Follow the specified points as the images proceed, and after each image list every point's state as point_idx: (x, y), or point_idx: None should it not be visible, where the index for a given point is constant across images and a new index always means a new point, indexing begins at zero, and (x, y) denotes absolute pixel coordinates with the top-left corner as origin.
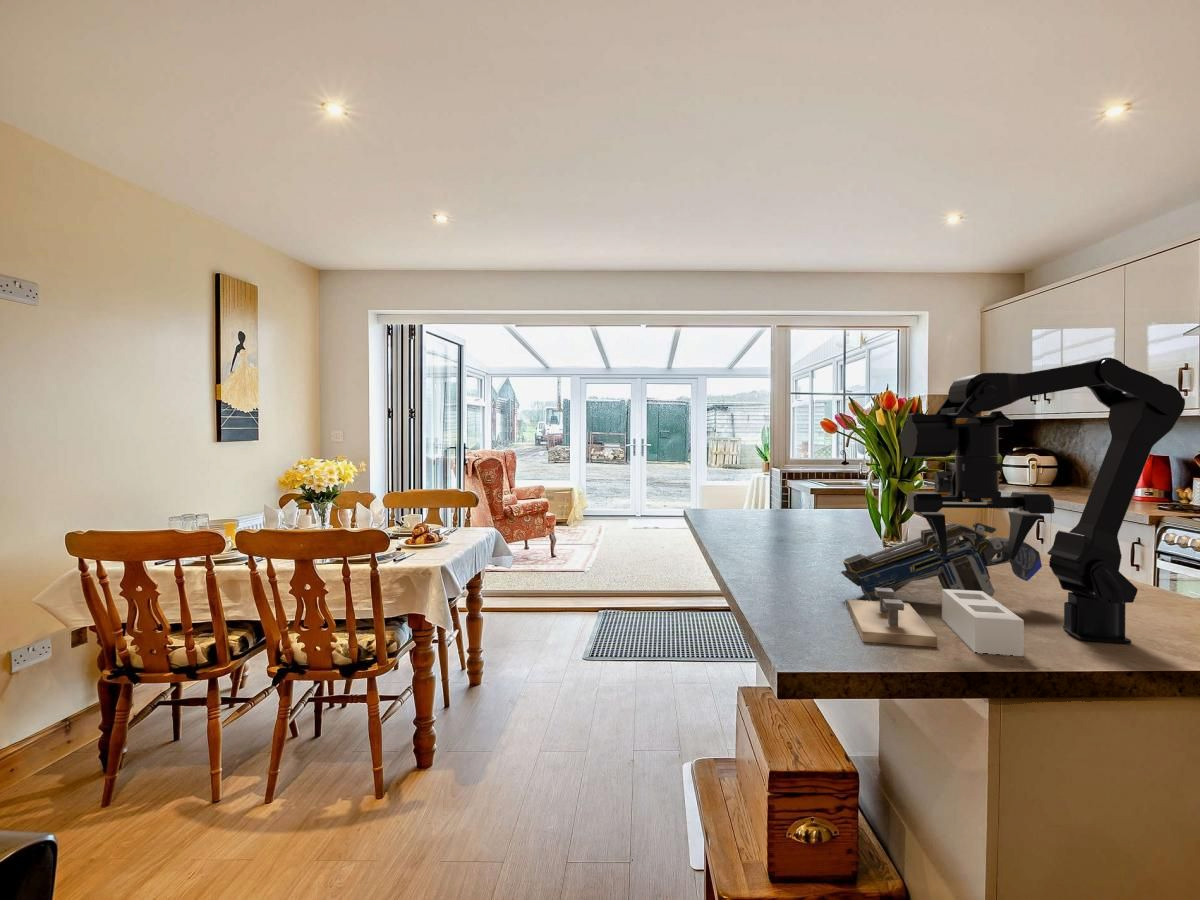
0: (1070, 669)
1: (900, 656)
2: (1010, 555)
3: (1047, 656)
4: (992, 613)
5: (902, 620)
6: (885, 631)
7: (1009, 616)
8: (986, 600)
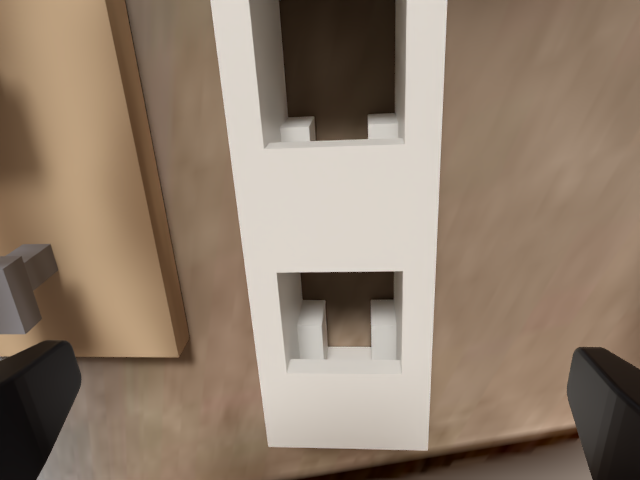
0: (496, 431)
1: (99, 425)
2: (581, 400)
3: (488, 346)
4: (345, 385)
5: (65, 190)
6: (30, 340)
7: (396, 412)
8: (392, 155)
